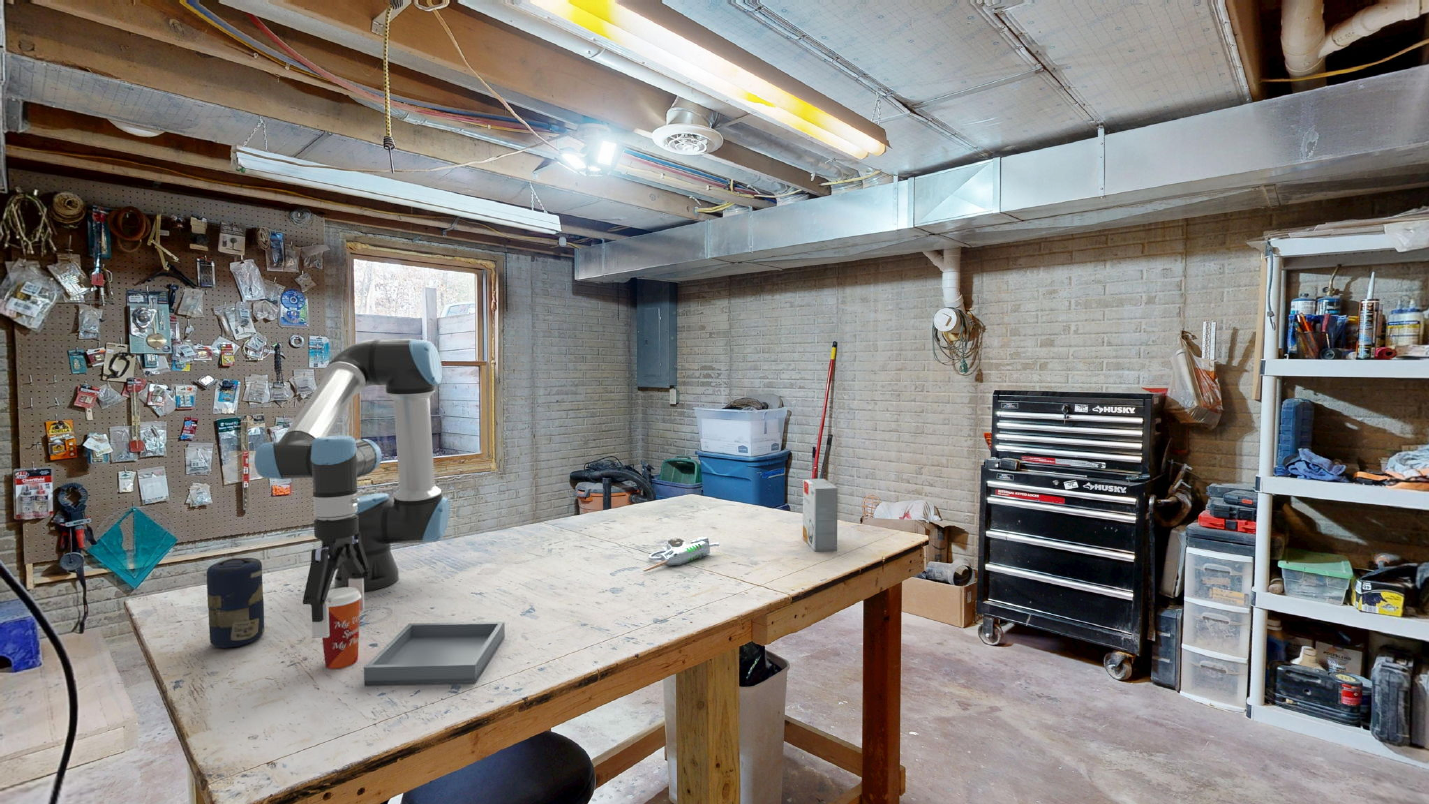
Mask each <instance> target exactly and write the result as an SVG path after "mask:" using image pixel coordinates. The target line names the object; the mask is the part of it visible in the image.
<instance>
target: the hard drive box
mask: <svg viewBox="0 0 1429 804" xmlns="http://www.w3.org/2000/svg"><path fill="white" fill-rule="evenodd" d="M838 491H839V488H838V487H836V486H835V485H834V484H832V483H830V482H829V481H828V480H827V479H825V478H804V479H802V538H803V540H804V541H805V542H806V543H807V544H808V545H809V546H810V548H811V549H812V550H813V551H814V552H828V551H829V552H830V551H832V552H833V551H838V501H839V500H838V496H839V495H838V494H839V493H838Z"/></svg>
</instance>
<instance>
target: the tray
mask: <svg viewBox="0 0 1429 804" xmlns="http://www.w3.org/2000/svg"><path fill="white" fill-rule="evenodd" d="M505 632H506V629H505V621H474V622H473V621H472V622H471V621H470V622H468V621H467V622H422V623H420V622H419V623H408V624H407V625H406V626H405V627H404V628H403V629H402V630H401V631H400V632H399V633H397V635H396V636H394V638H392V640H390V641H389V643H387V644H386V645H385V646H384V647H383V648H382V649H381V650H380V651H379V652H378V653H377V654H376V655H375V656H374V657H373V658H371V660H370V661H369V662H368V663H367V664H366V665H365V666H364V667H363V680H364V681H363V682H364V683H363V684H364V687H376V686H377V687H381V686H384V687H386V686H416V685H417V686H418V685H419V686H420V685H422V686H425V685H426V686H427V685H459V684H460V685H461V684H462V685H464V684H468V685H469V684H476V683H477V682H478V680H479V679H480V678H481V676H482V674H483V672H484V671H485V669H486V668H487V666H488V665H489V664H490V661H491V660H492V658H493V656H494V655H495V654H496V652H497V651H498V649H499V648H500V646H501V644H502V643H503V641H504V640H505V637H506V634H505Z"/></svg>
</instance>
